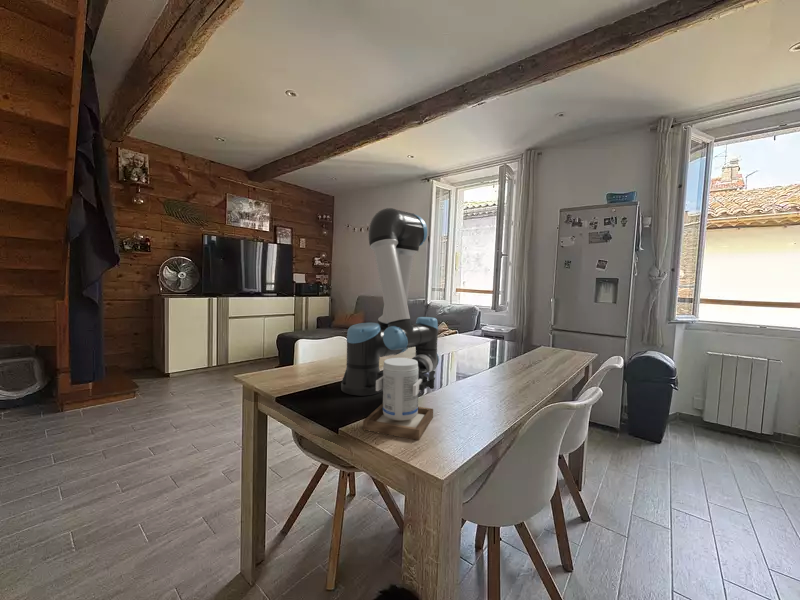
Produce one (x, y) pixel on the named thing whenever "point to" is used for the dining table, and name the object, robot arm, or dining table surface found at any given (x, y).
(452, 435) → the dining table surface
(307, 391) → the dining table surface
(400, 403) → the supplement tub
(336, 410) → the dining table surface
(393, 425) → the holder tray
